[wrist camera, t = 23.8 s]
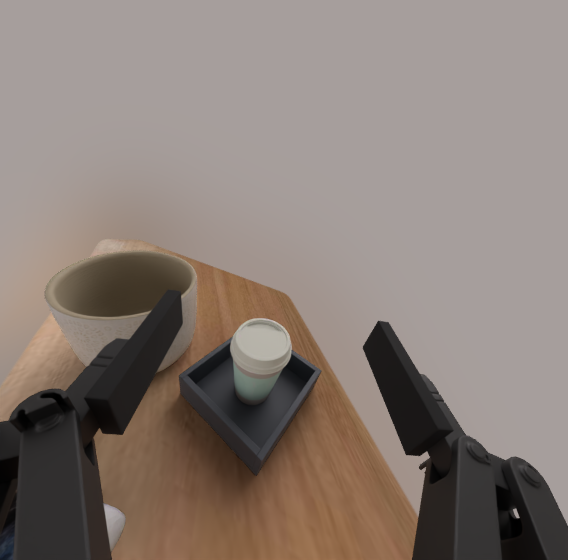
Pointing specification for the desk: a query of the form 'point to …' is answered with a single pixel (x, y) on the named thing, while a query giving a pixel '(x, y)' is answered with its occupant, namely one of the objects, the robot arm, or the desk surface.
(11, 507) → the mug
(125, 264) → the planter
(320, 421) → the desk surface
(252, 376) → the coffee cup
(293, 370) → the bin
